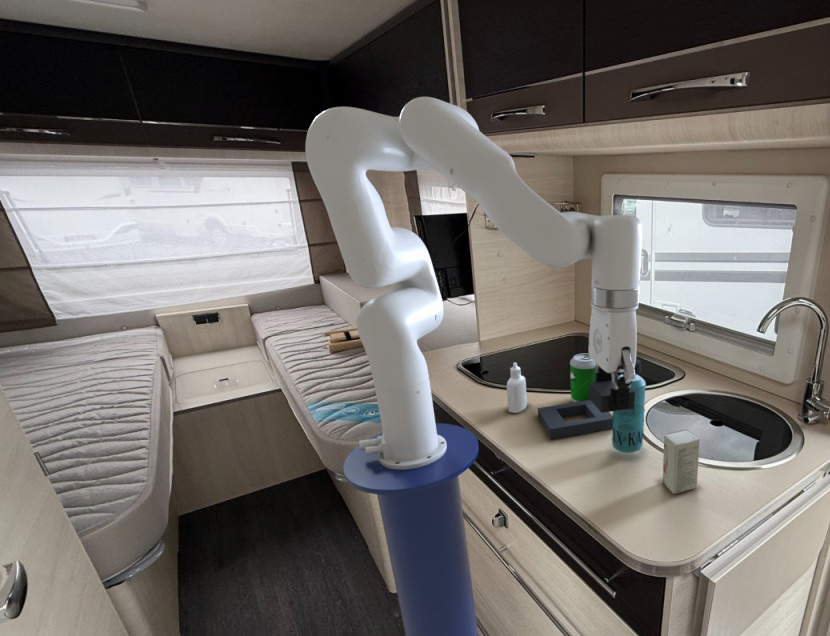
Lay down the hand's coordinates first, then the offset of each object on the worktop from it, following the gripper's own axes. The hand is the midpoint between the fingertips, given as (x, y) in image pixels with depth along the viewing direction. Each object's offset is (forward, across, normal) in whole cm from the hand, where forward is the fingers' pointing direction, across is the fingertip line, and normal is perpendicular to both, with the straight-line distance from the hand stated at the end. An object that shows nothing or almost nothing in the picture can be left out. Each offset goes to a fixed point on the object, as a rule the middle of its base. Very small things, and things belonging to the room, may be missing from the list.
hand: (611, 399), depth 80 cm
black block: (+1, 0, 0) cm, 1 cm away
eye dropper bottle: (+17, -37, -9) cm, 42 cm away
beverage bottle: (+17, -9, +8) cm, 20 cm away
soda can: (+17, -35, +8) cm, 39 cm away
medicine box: (+17, +5, +12) cm, 21 cm away
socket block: (+17, -25, +2) cm, 30 cm away
